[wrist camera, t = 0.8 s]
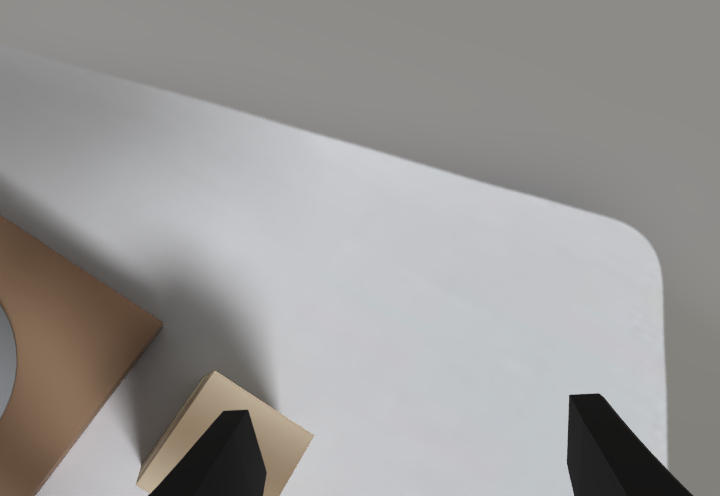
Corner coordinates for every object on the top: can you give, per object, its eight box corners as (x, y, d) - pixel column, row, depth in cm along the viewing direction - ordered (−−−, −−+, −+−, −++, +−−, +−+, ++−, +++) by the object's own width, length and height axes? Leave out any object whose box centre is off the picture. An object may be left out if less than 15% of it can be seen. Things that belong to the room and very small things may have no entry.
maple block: (227, 518, 25) (246, 552, 19) (141, 465, 24) (135, 485, 19) (282, 427, 26) (314, 435, 21) (203, 376, 26) (214, 370, 20)
